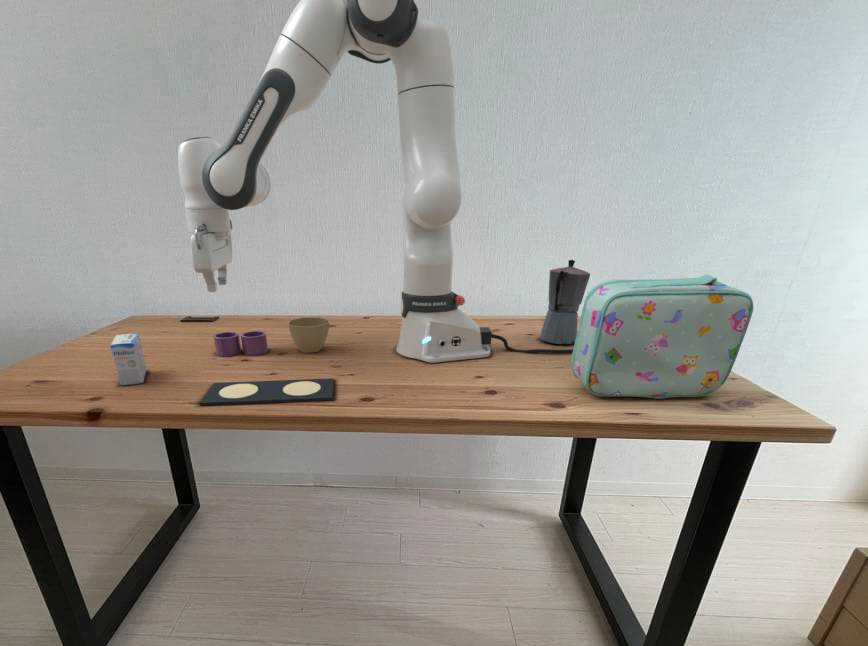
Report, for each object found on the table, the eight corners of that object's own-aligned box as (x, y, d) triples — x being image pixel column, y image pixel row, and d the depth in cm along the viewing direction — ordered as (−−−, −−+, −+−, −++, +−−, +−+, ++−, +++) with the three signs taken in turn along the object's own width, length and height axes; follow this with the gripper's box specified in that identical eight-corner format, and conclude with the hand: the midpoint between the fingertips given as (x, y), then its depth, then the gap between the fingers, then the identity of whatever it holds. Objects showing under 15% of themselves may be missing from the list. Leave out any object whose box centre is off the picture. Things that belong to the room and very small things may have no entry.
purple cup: (269, 348, 115) (267, 330, 113) (265, 355, 109) (263, 336, 108) (246, 348, 114) (243, 331, 112) (241, 355, 109) (238, 337, 107)
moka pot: (583, 336, 120) (597, 258, 112) (571, 352, 108) (585, 265, 100) (546, 332, 125) (557, 256, 117) (530, 346, 113) (541, 262, 105)
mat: (333, 380, 93) (333, 377, 93) (332, 400, 84) (332, 396, 84) (214, 385, 92) (213, 382, 91) (199, 405, 82) (199, 402, 82)
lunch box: (696, 380, 91) (729, 269, 82) (733, 400, 81) (774, 278, 73) (563, 381, 91) (581, 271, 82) (584, 402, 82) (607, 280, 73)
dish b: (243, 348, 114) (240, 331, 112) (238, 356, 109) (235, 337, 107) (219, 349, 114) (216, 332, 112) (213, 356, 109) (210, 338, 107)
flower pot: (313, 358, 106) (311, 328, 103) (281, 352, 111) (278, 323, 108) (339, 347, 114) (337, 319, 111) (308, 342, 119) (306, 315, 116)
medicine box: (124, 373, 98) (114, 334, 95) (147, 371, 100) (138, 332, 96) (120, 386, 92) (109, 344, 88) (144, 383, 93) (134, 342, 90)
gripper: (211, 225, 90) (221, 296, 96) (233, 221, 109) (241, 280, 114) (178, 225, 90) (190, 296, 95) (206, 221, 108) (215, 281, 114)
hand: (218, 287), depth 105 cm, fingers open, 8 cm apart
